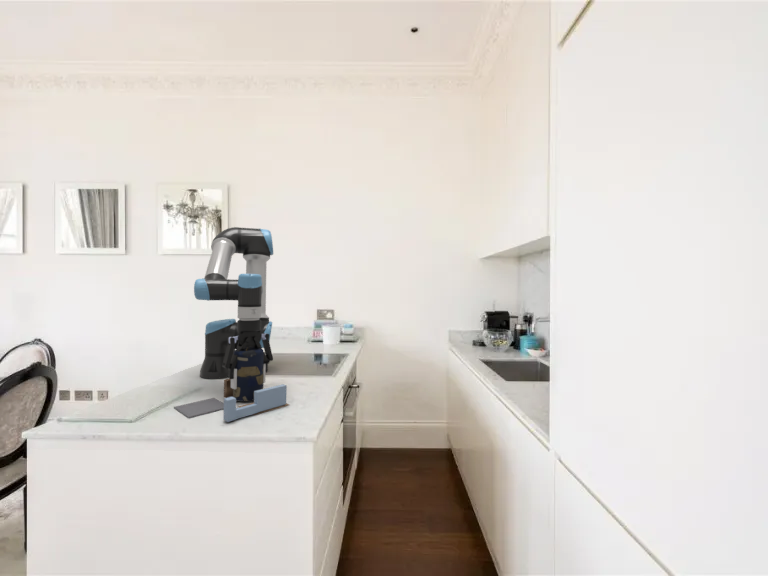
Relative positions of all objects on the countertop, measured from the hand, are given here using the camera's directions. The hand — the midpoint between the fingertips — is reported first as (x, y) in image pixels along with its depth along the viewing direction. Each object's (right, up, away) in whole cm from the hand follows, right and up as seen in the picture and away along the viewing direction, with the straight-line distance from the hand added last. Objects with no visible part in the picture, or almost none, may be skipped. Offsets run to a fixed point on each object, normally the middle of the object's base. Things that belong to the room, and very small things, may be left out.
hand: (248, 385), depth 115 cm
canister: (0, -5, 0) cm, 5 cm away
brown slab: (+3, -5, -3) cm, 6 cm away
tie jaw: (+8, -4, -13) cm, 16 cm away
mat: (-11, -4, -9) cm, 15 cm away
